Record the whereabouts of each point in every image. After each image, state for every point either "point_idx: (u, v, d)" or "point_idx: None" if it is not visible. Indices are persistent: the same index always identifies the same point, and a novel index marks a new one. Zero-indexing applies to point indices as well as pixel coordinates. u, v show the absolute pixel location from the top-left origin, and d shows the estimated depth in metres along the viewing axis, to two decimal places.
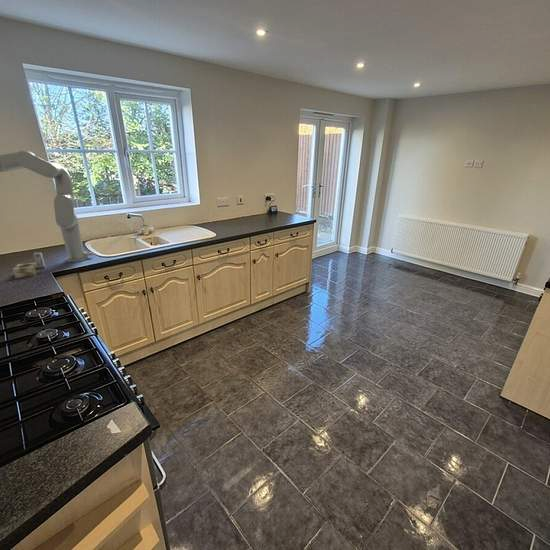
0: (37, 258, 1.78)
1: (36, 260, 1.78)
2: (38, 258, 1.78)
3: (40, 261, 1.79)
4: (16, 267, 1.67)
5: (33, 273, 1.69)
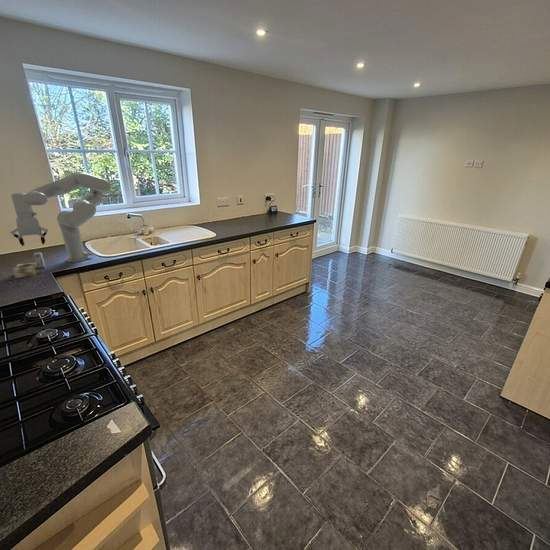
0: (37, 258, 1.78)
1: (36, 260, 1.78)
2: (38, 258, 1.78)
3: (40, 261, 1.79)
4: (16, 267, 1.67)
5: (33, 273, 1.69)
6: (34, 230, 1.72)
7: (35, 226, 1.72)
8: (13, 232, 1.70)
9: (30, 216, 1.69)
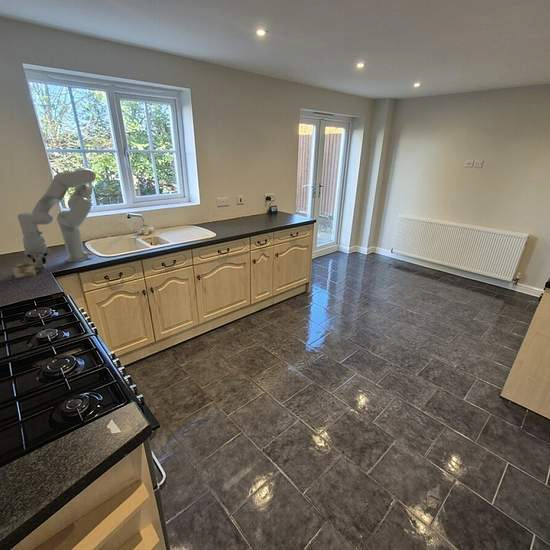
0: (37, 258, 1.78)
1: (36, 260, 1.78)
2: (38, 258, 1.78)
3: (40, 261, 1.79)
4: (16, 267, 1.67)
5: (33, 273, 1.69)
6: (40, 248, 1.77)
7: (41, 245, 1.76)
8: (25, 253, 1.76)
9: (36, 235, 1.74)
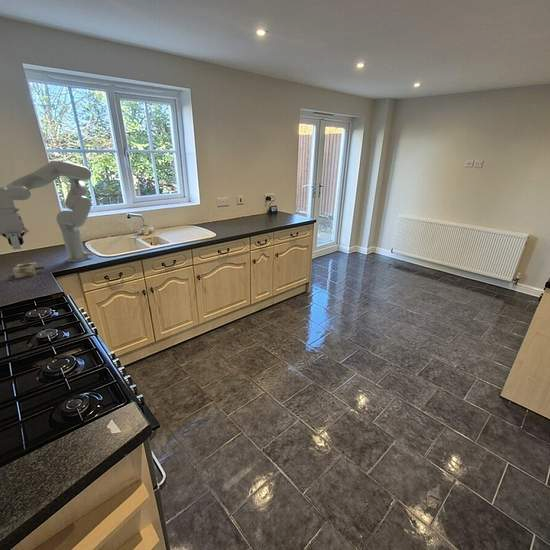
0: (13, 238, 1.62)
1: (12, 240, 1.62)
2: (14, 238, 1.62)
3: (16, 241, 1.63)
4: (16, 267, 1.67)
5: (33, 273, 1.69)
6: (16, 227, 1.61)
7: (17, 223, 1.60)
8: None
9: (12, 212, 1.57)
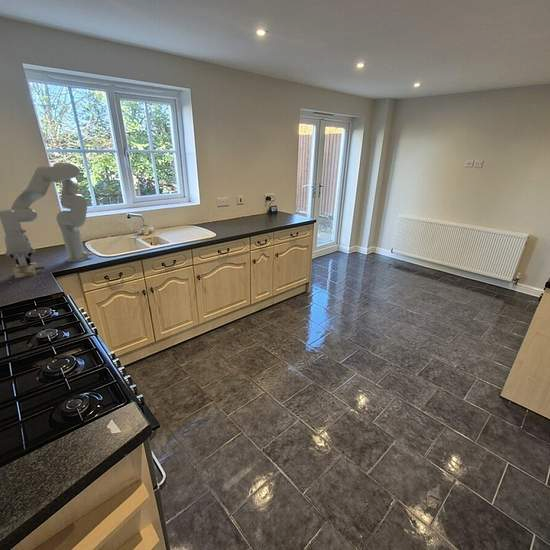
0: (20, 258, 1.66)
1: (19, 260, 1.66)
2: (21, 258, 1.67)
3: (24, 261, 1.68)
4: (16, 267, 1.67)
5: (33, 273, 1.69)
6: (24, 248, 1.65)
7: (25, 244, 1.65)
8: (7, 253, 1.64)
9: (19, 234, 1.62)
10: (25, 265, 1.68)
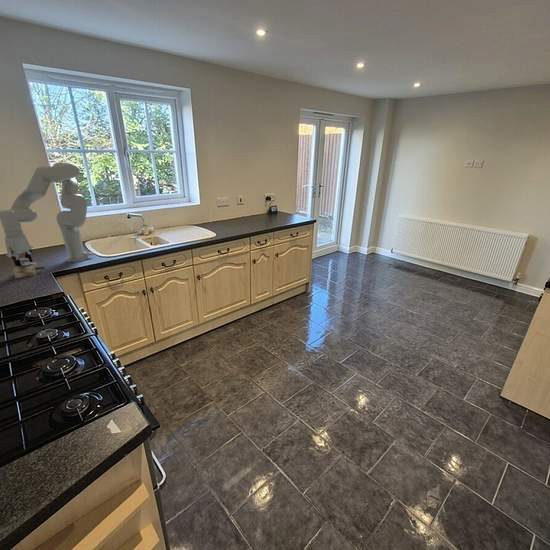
0: (26, 263, 1.69)
1: (26, 266, 1.69)
2: (27, 263, 1.69)
3: (29, 266, 1.71)
4: (16, 267, 1.67)
5: (33, 273, 1.69)
6: (27, 246, 1.68)
7: (27, 242, 1.68)
8: (10, 254, 1.60)
9: None
10: None
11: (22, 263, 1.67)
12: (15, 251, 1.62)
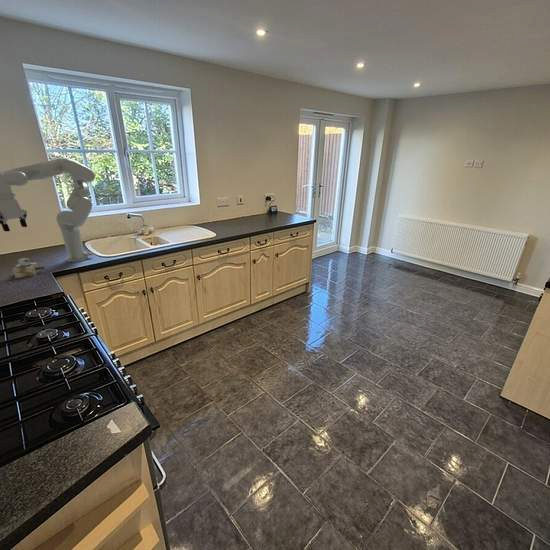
0: (27, 263, 1.69)
1: (26, 266, 1.69)
2: (27, 263, 1.69)
3: (29, 266, 1.71)
4: (16, 267, 1.67)
5: (33, 273, 1.69)
6: (18, 212, 1.63)
7: (19, 208, 1.63)
8: None
9: None
10: None
11: (22, 263, 1.68)
12: (5, 216, 1.56)
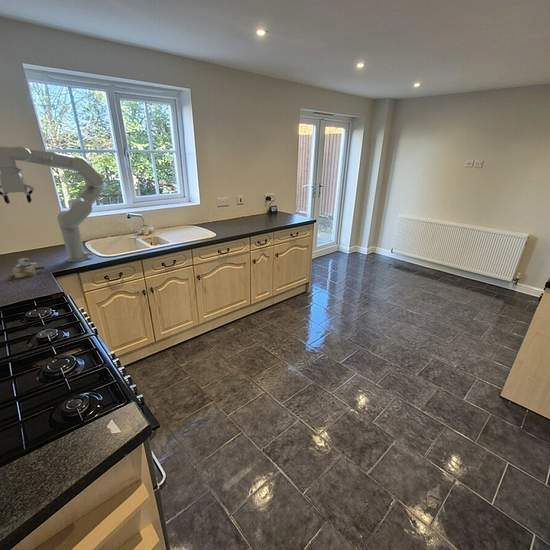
0: (27, 263, 1.69)
1: (26, 266, 1.69)
2: (27, 263, 1.69)
3: (29, 266, 1.71)
4: (16, 267, 1.67)
5: (33, 273, 1.69)
6: (19, 187, 1.66)
7: (20, 183, 1.65)
8: None
9: (14, 172, 1.62)
10: None
11: (22, 263, 1.68)
12: (3, 188, 1.63)
